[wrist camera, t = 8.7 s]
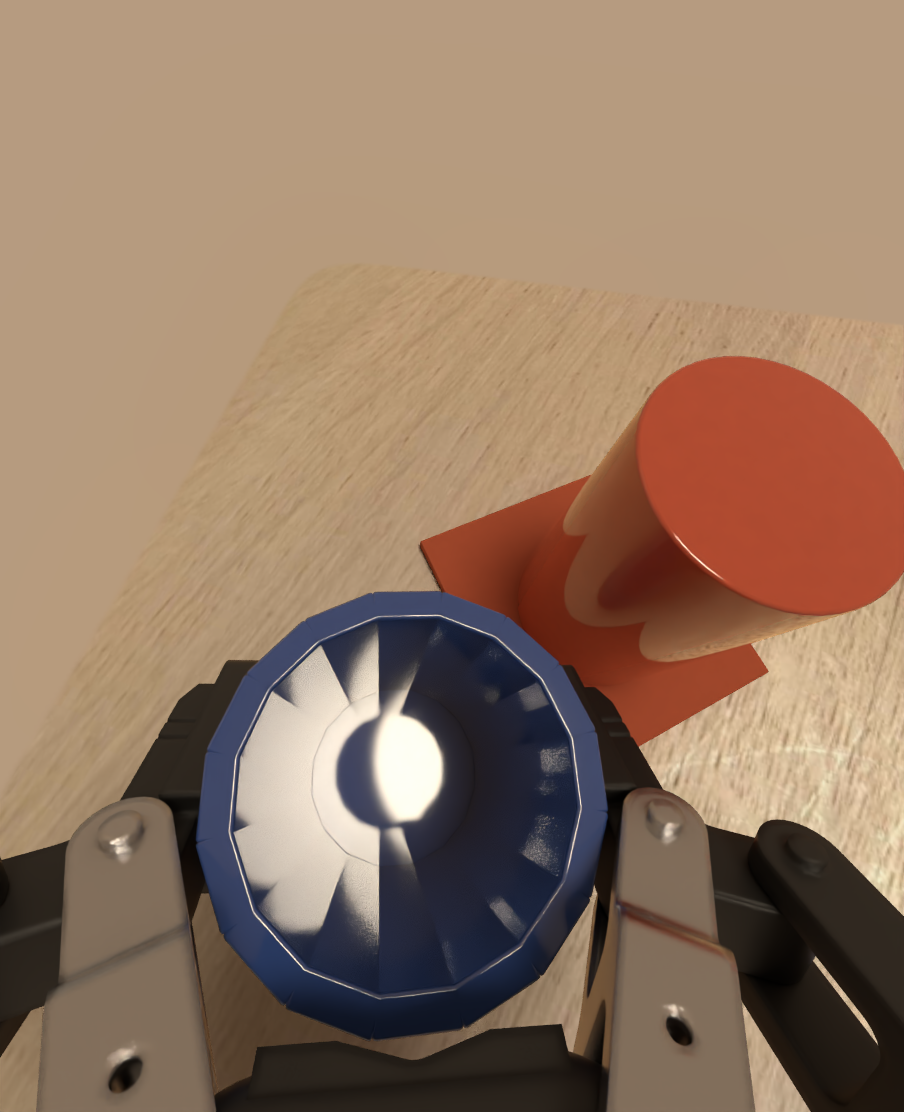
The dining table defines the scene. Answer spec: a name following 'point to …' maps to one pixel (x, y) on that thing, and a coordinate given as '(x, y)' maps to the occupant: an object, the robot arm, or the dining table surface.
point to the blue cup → (401, 814)
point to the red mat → (492, 581)
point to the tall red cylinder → (718, 524)
